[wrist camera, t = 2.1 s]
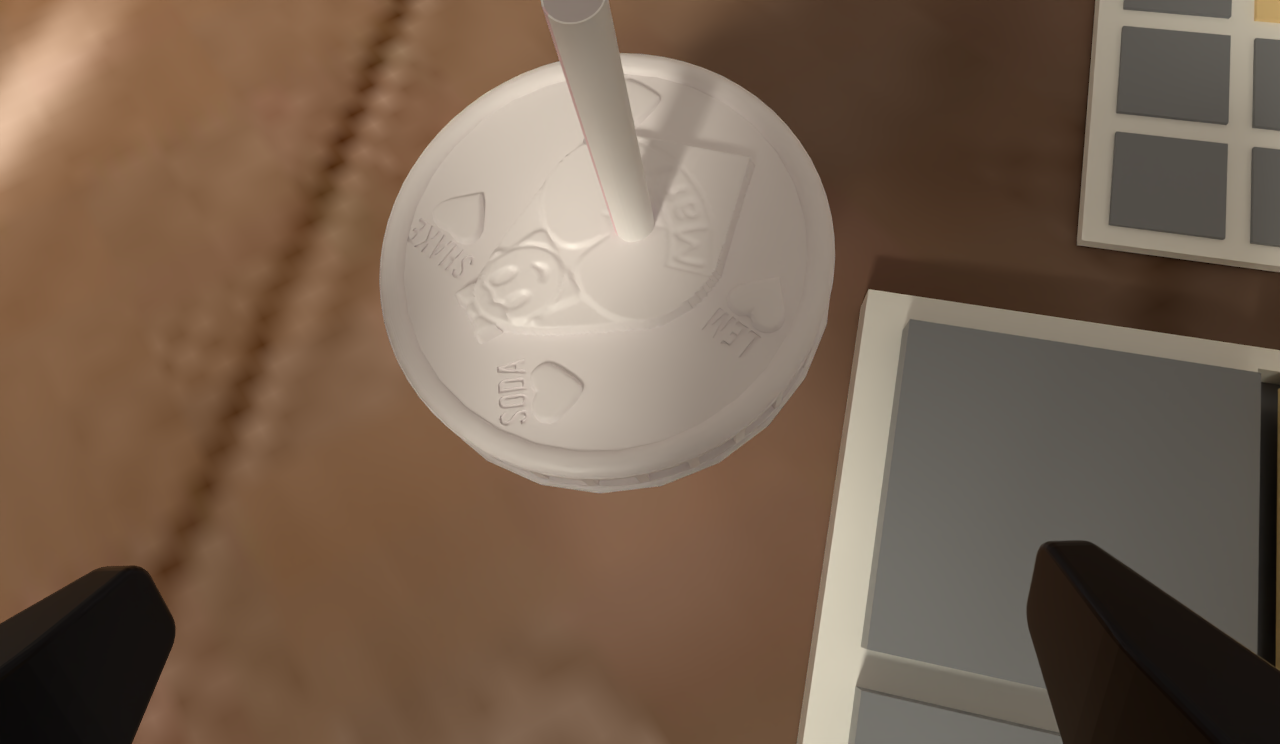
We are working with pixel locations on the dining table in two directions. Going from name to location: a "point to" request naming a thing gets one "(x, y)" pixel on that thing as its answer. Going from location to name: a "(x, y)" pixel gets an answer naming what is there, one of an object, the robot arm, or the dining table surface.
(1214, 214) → the pattern card
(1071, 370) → the button board
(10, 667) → the robot arm
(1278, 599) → the amber button
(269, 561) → the dining table surface
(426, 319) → the smoothie
